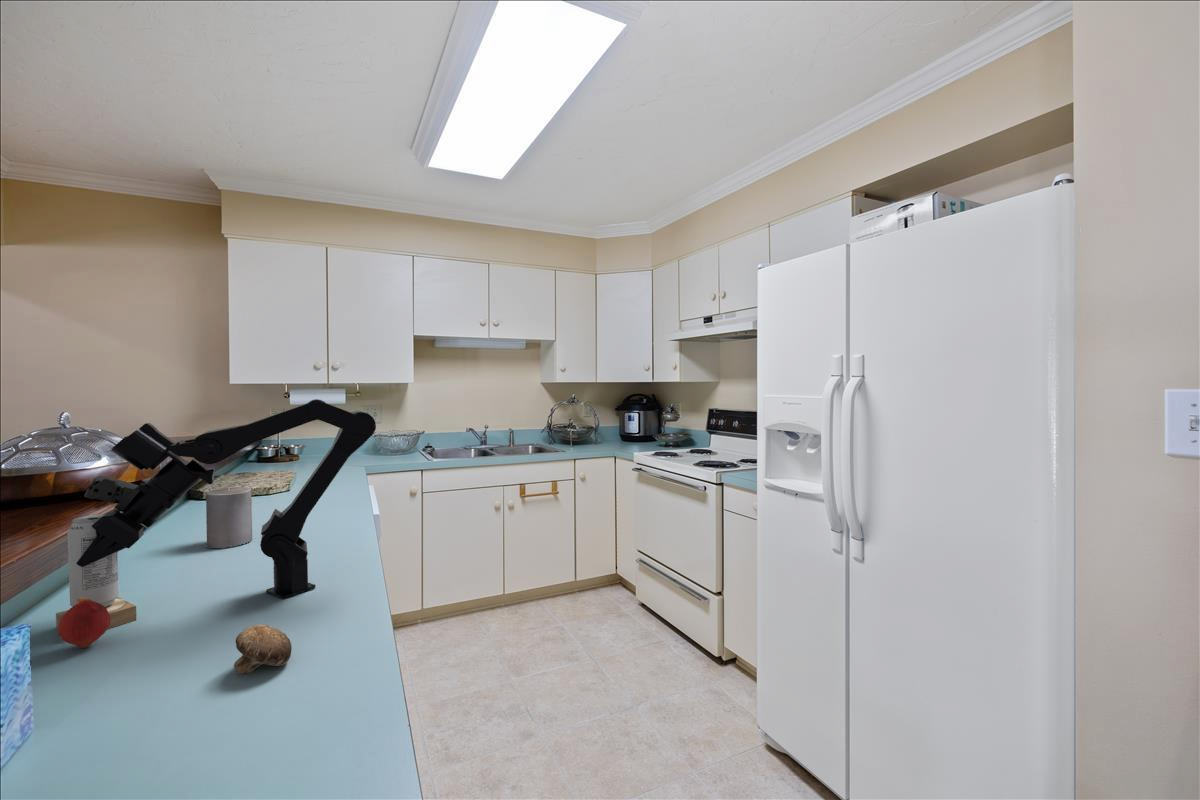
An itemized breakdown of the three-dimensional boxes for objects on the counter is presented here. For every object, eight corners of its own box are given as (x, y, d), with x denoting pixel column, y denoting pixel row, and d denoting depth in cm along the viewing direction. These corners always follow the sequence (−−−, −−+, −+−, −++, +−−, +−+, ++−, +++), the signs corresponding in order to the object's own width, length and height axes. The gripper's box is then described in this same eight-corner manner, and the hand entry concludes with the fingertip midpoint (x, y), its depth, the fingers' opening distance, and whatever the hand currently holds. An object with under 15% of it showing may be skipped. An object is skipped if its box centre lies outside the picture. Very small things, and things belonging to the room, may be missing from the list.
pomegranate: (107, 634, 86) (105, 586, 86) (114, 645, 83) (112, 595, 83) (56, 648, 82) (54, 597, 82) (61, 660, 78) (59, 607, 78)
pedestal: (136, 620, 92) (136, 604, 92) (73, 639, 85) (73, 622, 85) (117, 610, 96) (117, 594, 96) (56, 627, 89) (55, 611, 89)
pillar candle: (211, 540, 139) (210, 484, 138) (255, 536, 143) (254, 481, 142) (202, 551, 130) (200, 490, 129) (249, 546, 134) (248, 487, 133)
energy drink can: (109, 595, 94) (106, 512, 94) (125, 601, 92) (123, 515, 91) (63, 608, 89) (60, 519, 88) (79, 615, 86) (76, 524, 86)
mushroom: (208, 663, 71) (241, 618, 74) (231, 658, 79) (260, 617, 81) (262, 689, 72) (293, 643, 75) (280, 682, 79) (307, 640, 82)
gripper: (135, 452, 100) (57, 519, 94) (107, 465, 84) (11, 546, 78) (189, 489, 104) (117, 555, 99) (172, 508, 88) (85, 588, 83)
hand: (85, 559), depth 89 cm, fingers closed on energy drink can, 6 cm apart
